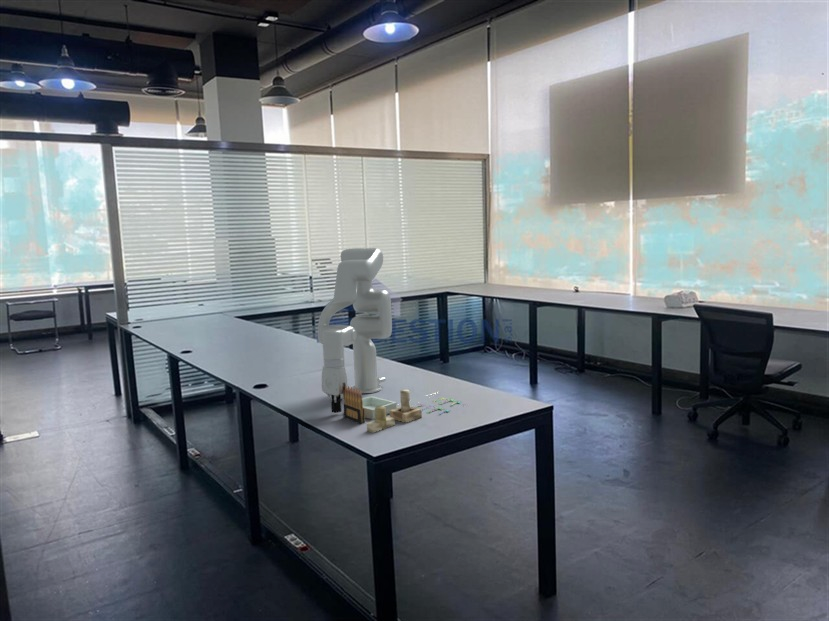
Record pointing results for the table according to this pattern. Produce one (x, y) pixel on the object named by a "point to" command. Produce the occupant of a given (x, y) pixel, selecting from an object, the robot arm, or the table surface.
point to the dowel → (405, 401)
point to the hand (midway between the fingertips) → (336, 411)
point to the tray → (374, 402)
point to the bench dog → (380, 420)
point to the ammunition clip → (353, 405)
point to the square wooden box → (406, 414)
